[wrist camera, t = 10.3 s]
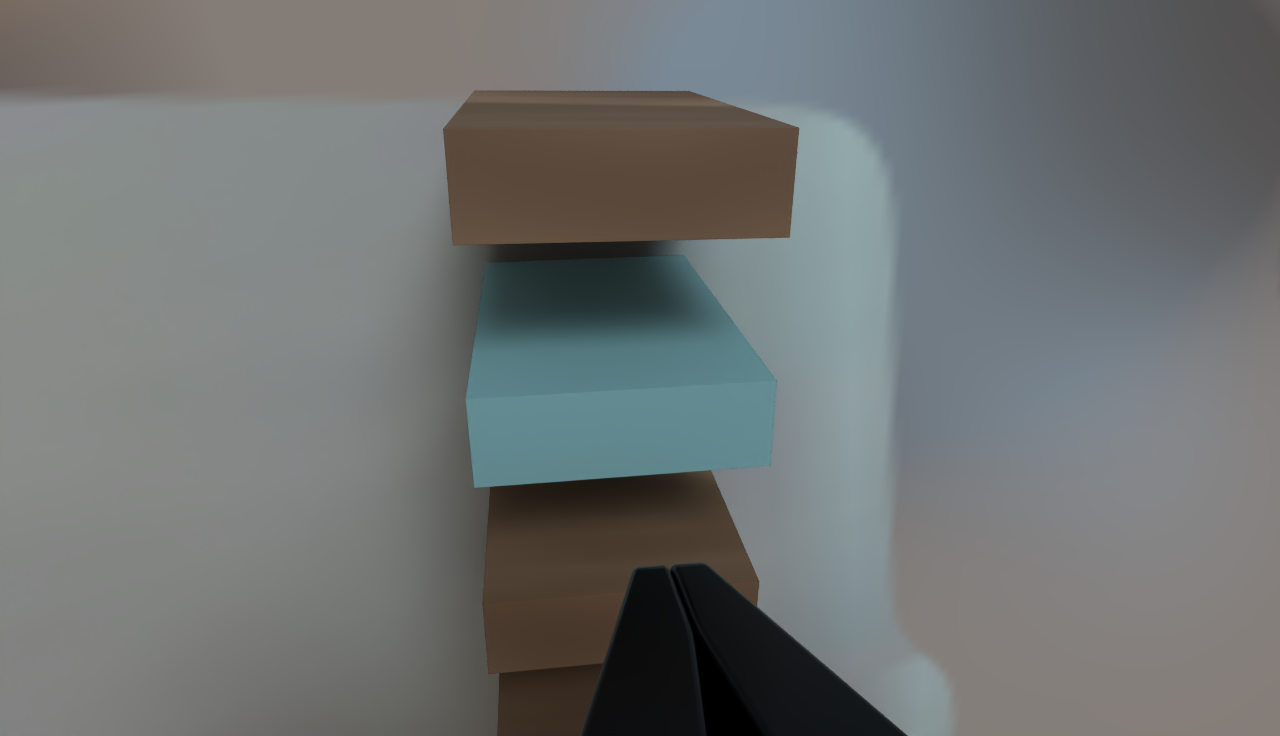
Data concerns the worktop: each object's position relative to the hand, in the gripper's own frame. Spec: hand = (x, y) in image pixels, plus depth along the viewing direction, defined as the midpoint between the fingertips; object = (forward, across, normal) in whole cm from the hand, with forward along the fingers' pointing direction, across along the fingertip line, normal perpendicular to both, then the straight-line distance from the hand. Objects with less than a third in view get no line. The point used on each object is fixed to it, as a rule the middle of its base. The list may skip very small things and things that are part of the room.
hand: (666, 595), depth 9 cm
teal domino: (+12, 0, 0) cm, 12 cm away
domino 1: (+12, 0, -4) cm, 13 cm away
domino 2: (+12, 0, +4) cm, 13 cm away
